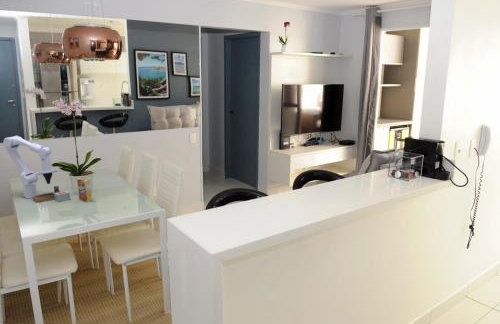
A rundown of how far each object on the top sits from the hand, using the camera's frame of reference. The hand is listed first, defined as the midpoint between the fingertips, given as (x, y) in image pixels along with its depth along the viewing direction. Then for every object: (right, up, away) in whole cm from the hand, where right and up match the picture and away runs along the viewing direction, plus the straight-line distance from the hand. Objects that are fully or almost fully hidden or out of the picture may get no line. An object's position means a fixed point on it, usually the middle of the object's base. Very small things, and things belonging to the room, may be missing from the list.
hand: (48, 183), depth 272 cm
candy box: (+26, -12, -1) cm, 29 cm away
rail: (0, -11, +1) cm, 11 cm away
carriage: (+4, -8, +4) cm, 10 cm away
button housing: (+10, -11, -1) cm, 15 cm away
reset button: (+10, -9, -2) cm, 14 cm away
